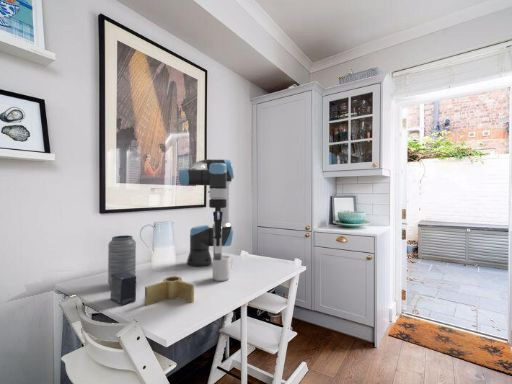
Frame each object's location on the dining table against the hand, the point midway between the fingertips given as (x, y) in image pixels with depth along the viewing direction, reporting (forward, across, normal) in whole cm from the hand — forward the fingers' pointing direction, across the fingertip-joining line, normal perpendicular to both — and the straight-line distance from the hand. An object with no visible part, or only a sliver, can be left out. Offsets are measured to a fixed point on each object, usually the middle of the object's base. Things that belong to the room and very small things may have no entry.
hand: (217, 252), depth 118 cm
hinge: (+18, +2, -19) cm, 26 cm away
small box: (+18, +1, -38) cm, 42 cm away
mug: (+18, -21, +4) cm, 28 cm away
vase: (+18, -18, -44) cm, 51 cm away
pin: (+3, 0, 0) cm, 3 cm away
